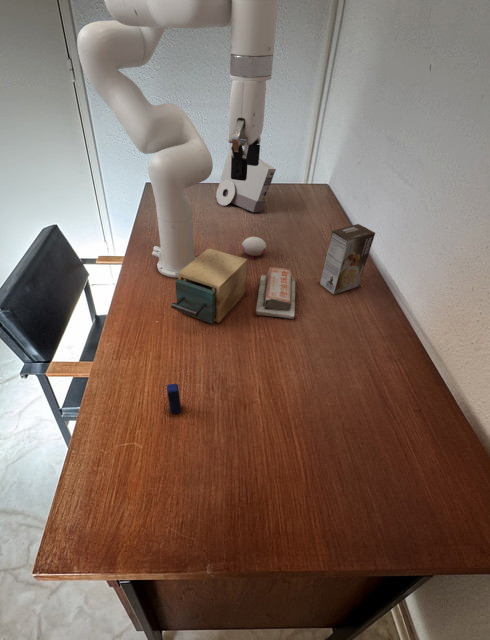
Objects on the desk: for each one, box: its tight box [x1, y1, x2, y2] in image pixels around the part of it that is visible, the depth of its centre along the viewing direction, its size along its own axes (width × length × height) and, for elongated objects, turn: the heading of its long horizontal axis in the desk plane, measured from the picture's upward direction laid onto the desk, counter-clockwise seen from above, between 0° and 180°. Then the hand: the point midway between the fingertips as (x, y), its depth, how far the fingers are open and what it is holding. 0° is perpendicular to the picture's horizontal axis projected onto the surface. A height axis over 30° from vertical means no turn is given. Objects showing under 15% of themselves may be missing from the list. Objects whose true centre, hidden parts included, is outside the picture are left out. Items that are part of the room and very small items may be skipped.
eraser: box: [166, 383, 182, 415], centre depth 71 cm, size 2×2×7 cm
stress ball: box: [241, 236, 267, 260], centre depth 117 cm, size 8×8×7 cm
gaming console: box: [215, 144, 277, 213], centre depth 138 cm, size 23×8×20 cm, turn 43°
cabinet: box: [177, 248, 248, 324], centre depth 96 cm, size 15×12×11 cm
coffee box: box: [319, 223, 376, 295], centre depth 100 cm, size 9×6×16 cm
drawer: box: [170, 278, 217, 325], centre depth 93 cm, size 18×10×9 cm, turn 150°
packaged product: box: [255, 266, 296, 320], centre depth 99 cm, size 18×5×10 cm
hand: (245, 172), depth 78 cm, fingers open, 9 cm apart
